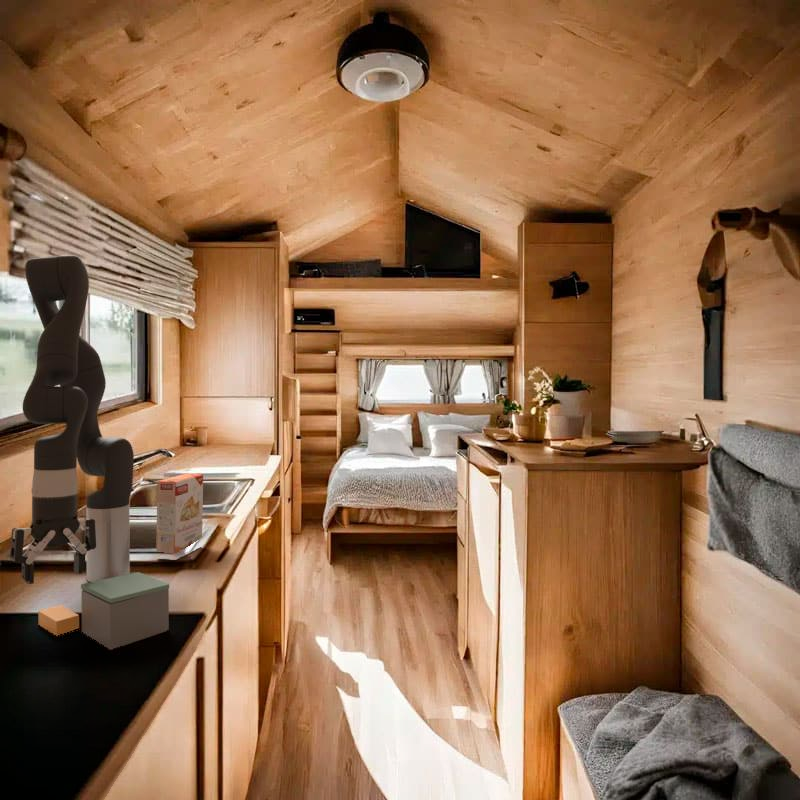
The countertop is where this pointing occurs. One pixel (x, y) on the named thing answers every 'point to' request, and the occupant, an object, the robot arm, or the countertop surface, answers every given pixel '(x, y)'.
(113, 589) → the lid
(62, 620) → the orange rectangular block
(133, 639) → the storage box
